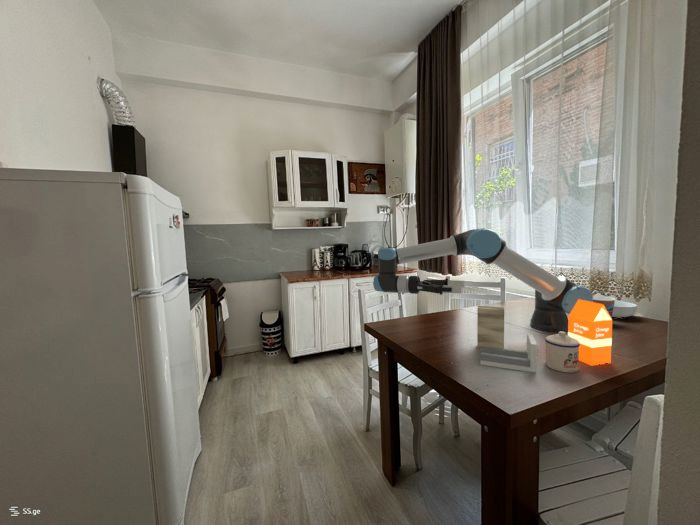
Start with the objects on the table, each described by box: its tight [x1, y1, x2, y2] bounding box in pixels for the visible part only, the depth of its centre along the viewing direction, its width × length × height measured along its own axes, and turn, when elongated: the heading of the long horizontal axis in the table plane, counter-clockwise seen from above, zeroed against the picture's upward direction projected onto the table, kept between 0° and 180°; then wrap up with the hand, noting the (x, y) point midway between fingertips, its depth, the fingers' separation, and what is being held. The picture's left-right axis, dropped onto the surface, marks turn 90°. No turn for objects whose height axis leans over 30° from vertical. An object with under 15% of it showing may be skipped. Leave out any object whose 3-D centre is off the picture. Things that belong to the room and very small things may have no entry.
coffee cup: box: [593, 295, 617, 319], centre depth 138 cm, size 10×10×12 cm
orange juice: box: [567, 299, 613, 367], centre depth 99 cm, size 8×9×20 cm
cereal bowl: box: [612, 300, 638, 318], centre depth 147 cm, size 17×17×7 cm
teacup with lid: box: [544, 331, 580, 374], centre depth 95 cm, size 12×9×12 cm
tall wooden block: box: [476, 305, 505, 350], centre depth 111 cm, size 4×9×16 cm, turn 64°
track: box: [479, 332, 538, 374], centre depth 99 cm, size 16×11×9 cm
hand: (463, 286), depth 114 cm, fingers open, 13 cm apart
